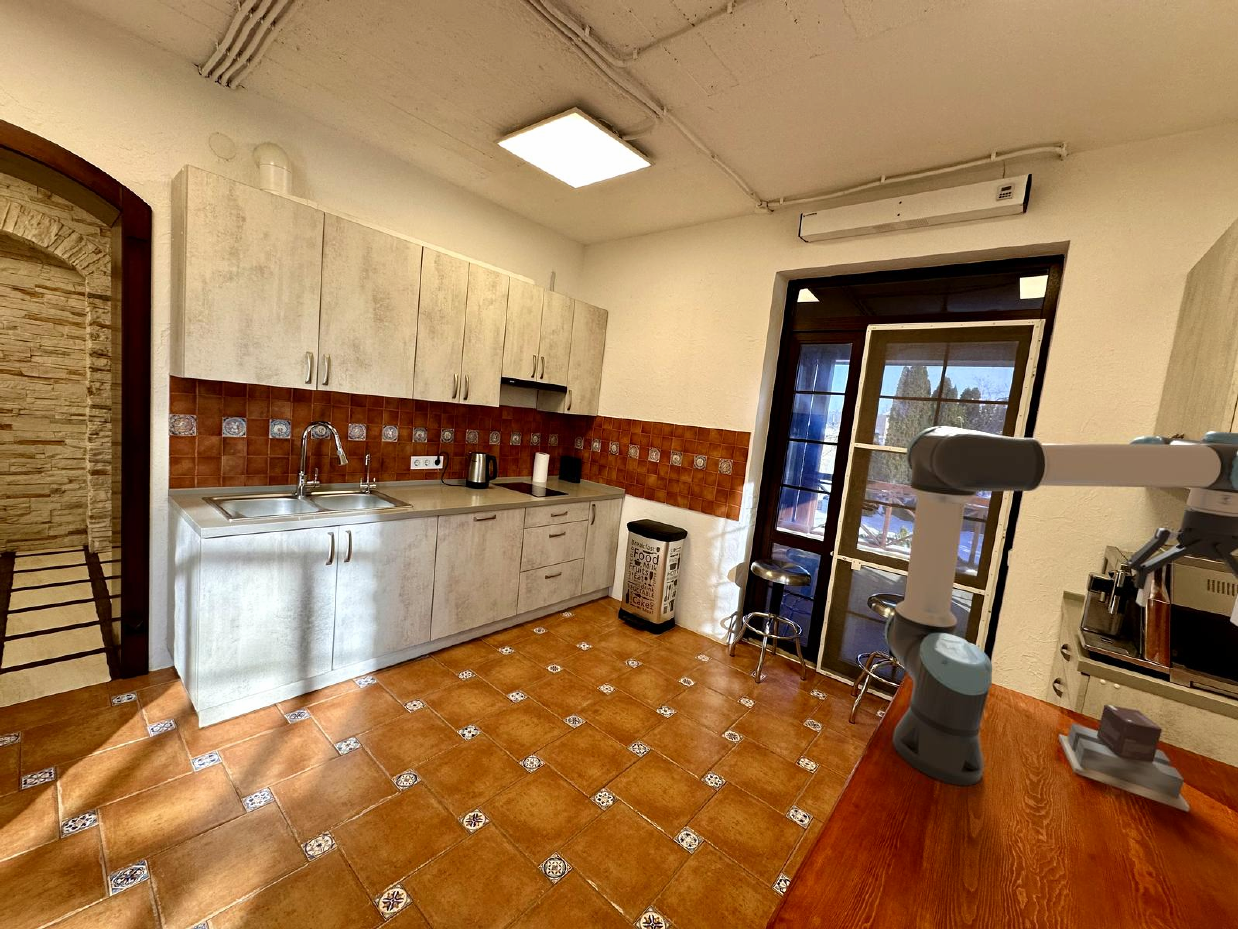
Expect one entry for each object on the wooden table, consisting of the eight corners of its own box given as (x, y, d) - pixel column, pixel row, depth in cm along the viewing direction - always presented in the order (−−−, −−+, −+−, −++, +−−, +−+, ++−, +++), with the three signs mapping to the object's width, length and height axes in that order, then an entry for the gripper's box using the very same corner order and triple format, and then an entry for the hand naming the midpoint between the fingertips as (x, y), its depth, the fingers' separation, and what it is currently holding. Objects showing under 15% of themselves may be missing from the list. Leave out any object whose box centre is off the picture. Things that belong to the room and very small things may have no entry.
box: (1153, 764, 96) (1164, 729, 95) (1116, 756, 97) (1126, 722, 96) (1130, 743, 102) (1139, 710, 101) (1095, 736, 103) (1103, 703, 102)
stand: (1074, 772, 99) (1080, 749, 98) (1058, 738, 110) (1063, 717, 109) (1188, 812, 92) (1195, 787, 91) (1159, 771, 102) (1166, 748, 101)
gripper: (1134, 502, 101) (1110, 602, 104) (1327, 528, 89) (1293, 640, 92) (1121, 497, 107) (1098, 591, 111) (1299, 520, 95) (1268, 625, 98)
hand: (1187, 614), depth 101 cm, fingers open, 13 cm apart
